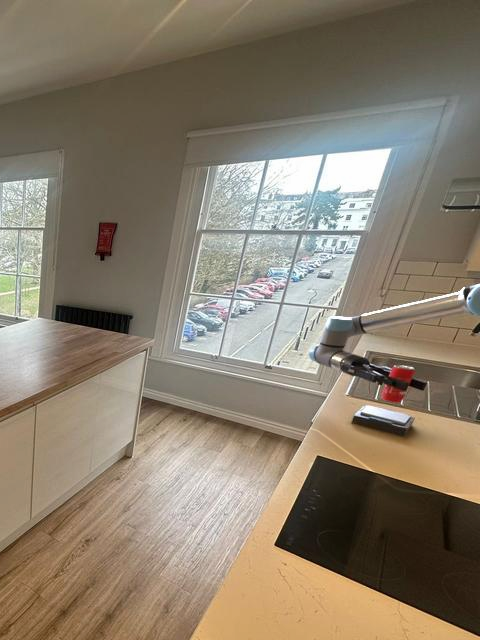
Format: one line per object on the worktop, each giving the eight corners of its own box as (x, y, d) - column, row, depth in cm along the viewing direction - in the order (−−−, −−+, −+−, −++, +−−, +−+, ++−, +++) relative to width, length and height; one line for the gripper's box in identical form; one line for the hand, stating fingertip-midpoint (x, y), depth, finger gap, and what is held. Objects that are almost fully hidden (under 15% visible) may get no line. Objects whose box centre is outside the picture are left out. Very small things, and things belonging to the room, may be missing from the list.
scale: (411, 425, 137) (415, 415, 136) (403, 436, 130) (407, 426, 129) (361, 412, 147) (365, 403, 146) (351, 422, 140) (354, 413, 139)
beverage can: (388, 402, 134) (401, 369, 130) (376, 396, 139) (389, 364, 135) (406, 403, 133) (420, 369, 129) (393, 397, 138) (407, 364, 134)
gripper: (370, 372, 152) (438, 396, 130) (323, 373, 152) (383, 398, 130) (377, 354, 149) (448, 375, 127) (329, 355, 149) (391, 376, 127)
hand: (415, 386), depth 129 cm, fingers closed on beverage can, 5 cm apart
